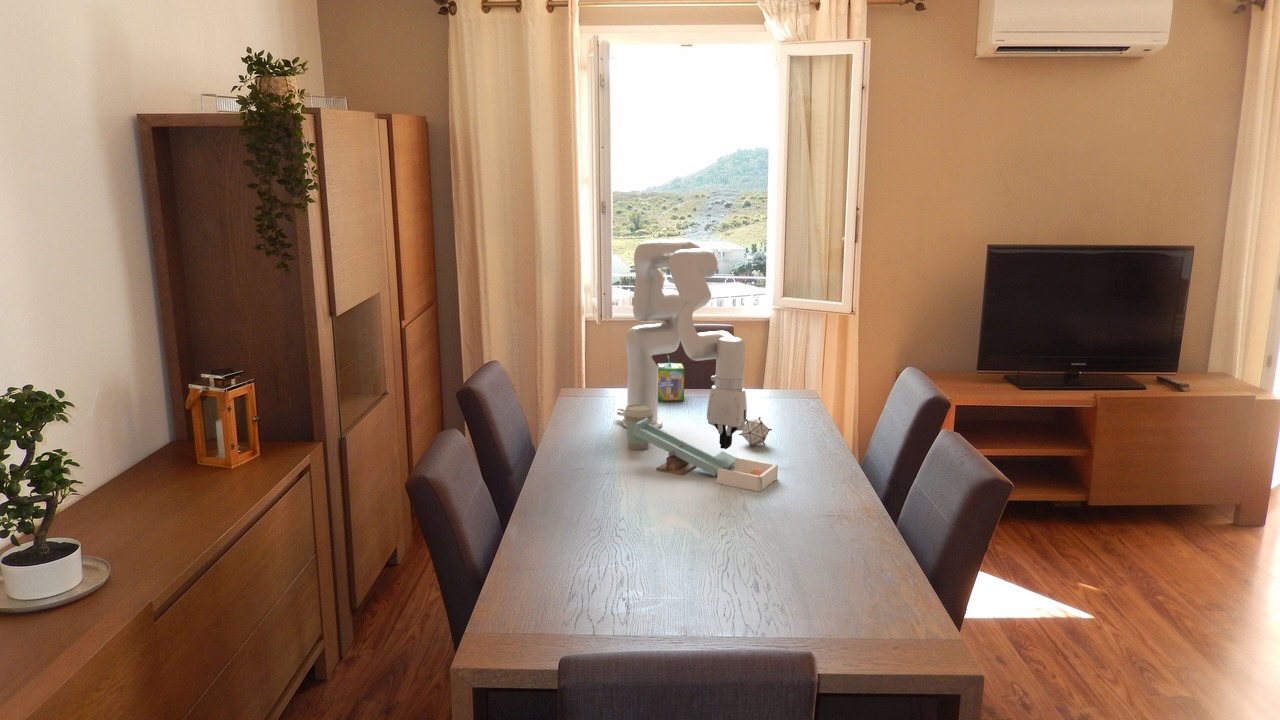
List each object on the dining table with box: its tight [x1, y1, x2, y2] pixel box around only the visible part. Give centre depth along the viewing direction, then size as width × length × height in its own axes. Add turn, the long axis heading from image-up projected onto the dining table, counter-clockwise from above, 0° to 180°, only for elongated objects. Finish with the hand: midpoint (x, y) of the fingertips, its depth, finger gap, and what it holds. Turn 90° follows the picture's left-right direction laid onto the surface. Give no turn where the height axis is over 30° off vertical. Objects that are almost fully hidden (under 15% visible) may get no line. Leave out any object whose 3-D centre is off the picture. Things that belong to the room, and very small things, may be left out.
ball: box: [750, 468, 763, 476], centre depth 246 cm, size 4×4×4 cm
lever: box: [633, 418, 736, 477], centre depth 259 cm, size 26×16×4 cm, turn 61°
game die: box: [738, 416, 773, 448], centre depth 277 cm, size 9×8×10 cm
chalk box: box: [656, 354, 685, 402], centre depth 327 cm, size 9×9×15 cm
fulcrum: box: [655, 455, 697, 476], centre depth 257 cm, size 8×10×4 cm
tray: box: [716, 456, 779, 493], centre depth 247 cm, size 12×12×4 cm
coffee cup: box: [624, 404, 654, 451], centre depth 273 cm, size 8×8×12 cm
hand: (725, 447), depth 259 cm, fingers closed
